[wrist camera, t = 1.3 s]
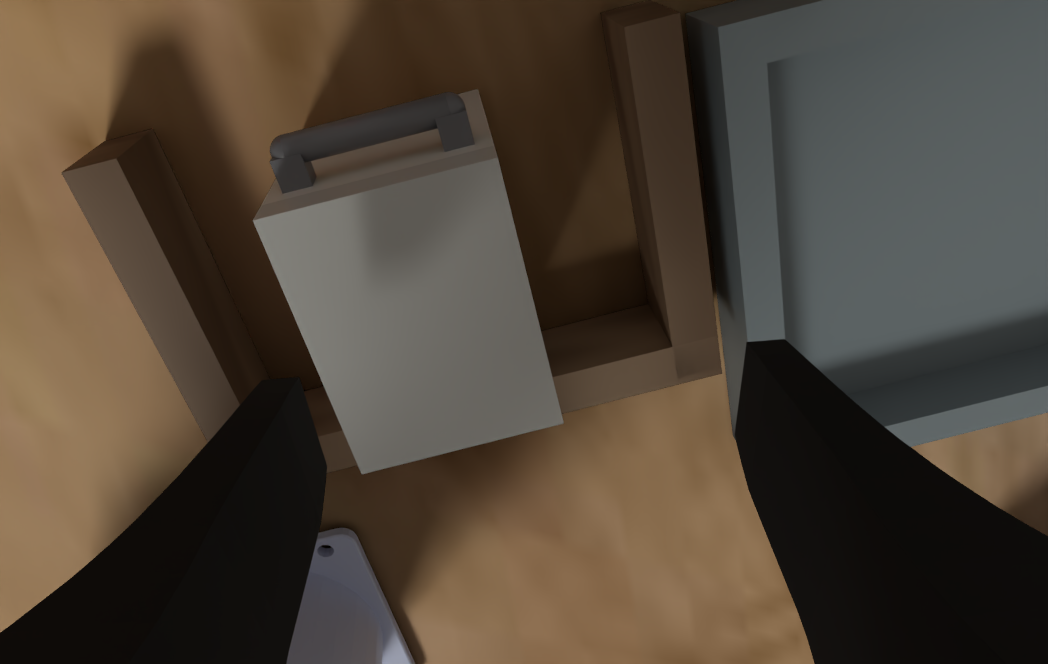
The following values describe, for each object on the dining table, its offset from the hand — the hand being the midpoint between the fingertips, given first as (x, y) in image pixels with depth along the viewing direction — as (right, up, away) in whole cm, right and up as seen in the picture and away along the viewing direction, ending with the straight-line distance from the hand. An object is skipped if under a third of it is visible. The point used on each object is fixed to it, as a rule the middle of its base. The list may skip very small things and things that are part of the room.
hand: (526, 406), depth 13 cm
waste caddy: (-3, +4, +8) cm, 9 cm away
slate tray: (+12, +5, +9) cm, 15 cm away
